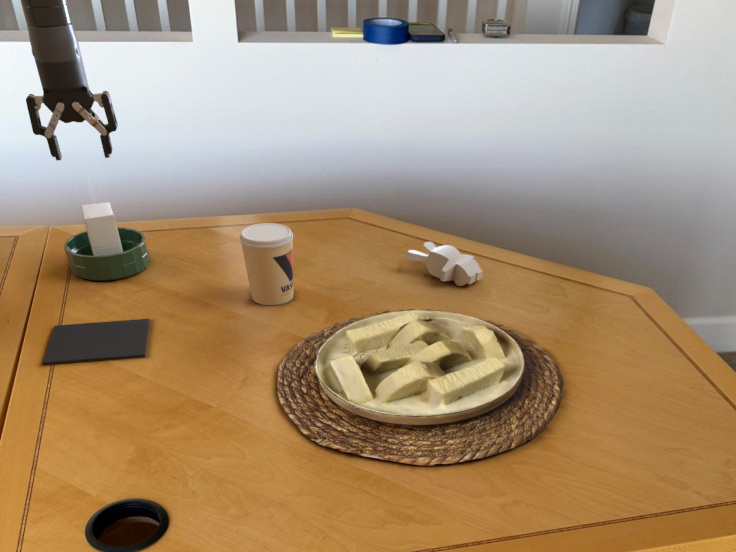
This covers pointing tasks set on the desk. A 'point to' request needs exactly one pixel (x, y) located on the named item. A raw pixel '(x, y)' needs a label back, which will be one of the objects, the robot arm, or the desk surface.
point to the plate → (419, 387)
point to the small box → (101, 229)
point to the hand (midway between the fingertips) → (83, 157)
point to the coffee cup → (269, 262)
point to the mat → (97, 341)
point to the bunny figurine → (448, 263)
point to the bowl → (108, 257)
